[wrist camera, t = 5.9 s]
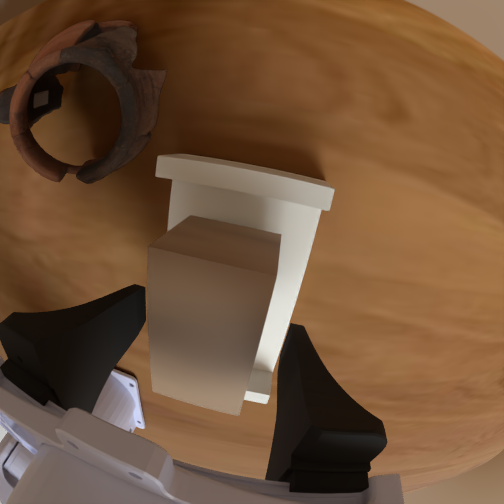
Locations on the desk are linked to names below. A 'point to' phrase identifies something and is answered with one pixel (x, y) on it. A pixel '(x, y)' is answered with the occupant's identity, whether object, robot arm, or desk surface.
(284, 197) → the peg stand
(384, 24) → the desk surface
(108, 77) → the pottery mug
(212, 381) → the tan rectangular block
